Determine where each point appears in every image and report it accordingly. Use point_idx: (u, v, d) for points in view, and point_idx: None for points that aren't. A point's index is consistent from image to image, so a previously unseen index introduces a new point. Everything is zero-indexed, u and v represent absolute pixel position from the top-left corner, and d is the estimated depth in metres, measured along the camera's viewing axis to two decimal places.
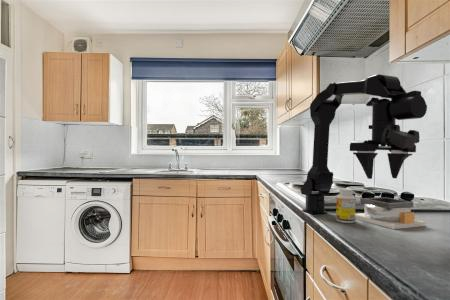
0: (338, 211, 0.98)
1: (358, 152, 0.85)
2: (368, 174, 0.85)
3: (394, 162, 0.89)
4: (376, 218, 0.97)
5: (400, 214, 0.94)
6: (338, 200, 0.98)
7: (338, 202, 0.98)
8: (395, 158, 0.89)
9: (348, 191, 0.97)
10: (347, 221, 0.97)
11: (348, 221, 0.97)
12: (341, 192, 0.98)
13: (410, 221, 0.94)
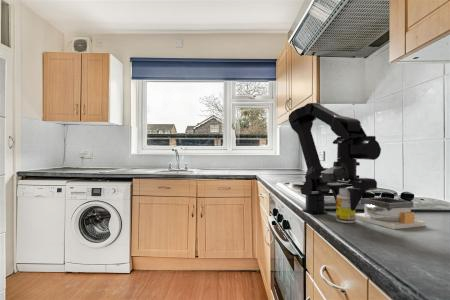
0: (338, 211, 0.98)
1: None
2: None
3: None
4: (376, 218, 0.97)
5: (400, 214, 0.94)
6: (338, 200, 0.98)
7: (338, 202, 0.98)
8: None
9: (348, 191, 0.97)
10: (347, 221, 0.97)
11: (348, 221, 0.97)
12: (341, 192, 0.98)
13: (410, 221, 0.94)
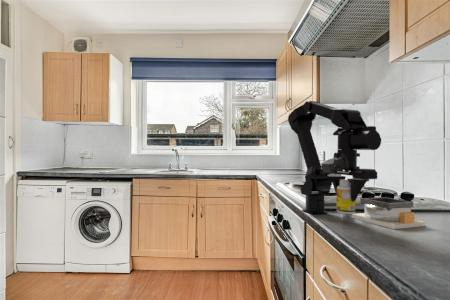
0: (338, 202, 0.98)
1: None
2: None
3: None
4: (376, 218, 0.97)
5: (400, 214, 0.94)
6: (338, 191, 0.98)
7: (338, 193, 0.98)
8: None
9: (348, 182, 0.97)
10: (347, 212, 0.97)
11: (348, 212, 0.97)
12: (341, 183, 0.98)
13: (410, 221, 0.94)
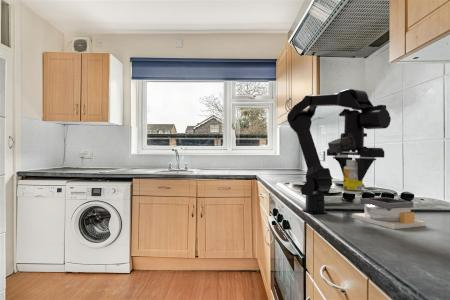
0: (345, 182, 0.99)
1: None
2: None
3: None
4: (376, 218, 0.97)
5: (400, 214, 0.94)
6: (345, 171, 0.99)
7: (345, 173, 0.99)
8: None
9: (355, 162, 0.97)
10: (354, 191, 0.97)
11: (355, 191, 0.97)
12: (348, 163, 0.98)
13: (410, 221, 0.94)
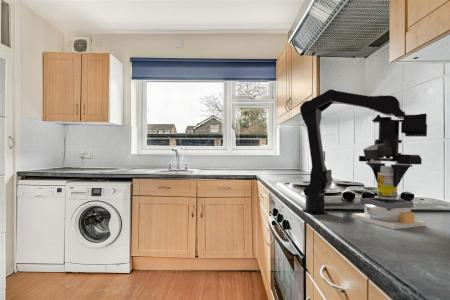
0: (380, 188, 1.00)
1: None
2: None
3: None
4: (376, 218, 0.97)
5: (400, 214, 0.94)
6: (380, 177, 1.00)
7: (380, 179, 1.00)
8: None
9: (390, 168, 0.99)
10: (389, 197, 0.98)
11: (390, 197, 0.98)
12: (383, 169, 1.00)
13: (410, 221, 0.94)
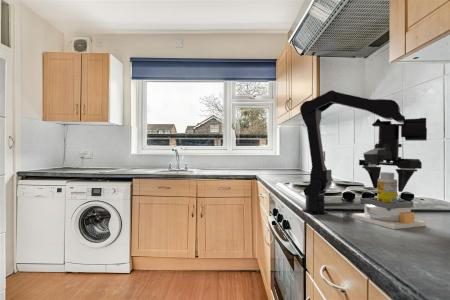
0: (380, 194, 1.00)
1: None
2: None
3: None
4: (376, 218, 0.97)
5: (400, 214, 0.94)
6: (380, 184, 1.00)
7: (380, 186, 1.00)
8: None
9: (390, 174, 0.99)
10: None
11: None
12: (383, 176, 1.00)
13: (410, 221, 0.94)
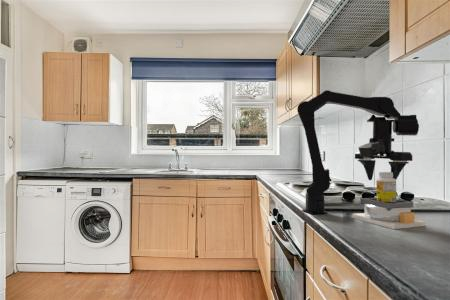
0: (379, 194, 1.00)
1: None
2: None
3: None
4: (376, 218, 0.97)
5: (400, 214, 0.94)
6: (379, 183, 1.00)
7: (379, 185, 1.00)
8: None
9: (389, 174, 0.99)
10: None
11: None
12: (381, 175, 1.00)
13: (410, 221, 0.94)
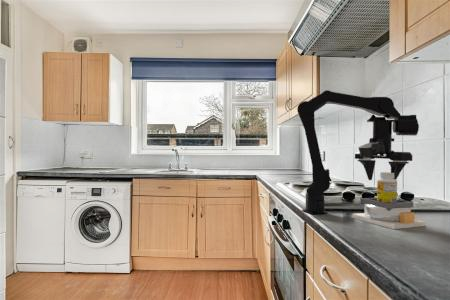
0: (380, 194, 1.00)
1: None
2: None
3: None
4: (376, 218, 0.97)
5: (400, 214, 0.94)
6: (380, 184, 1.00)
7: (380, 186, 1.00)
8: None
9: (390, 175, 0.99)
10: None
11: None
12: (383, 176, 1.00)
13: (410, 221, 0.94)
